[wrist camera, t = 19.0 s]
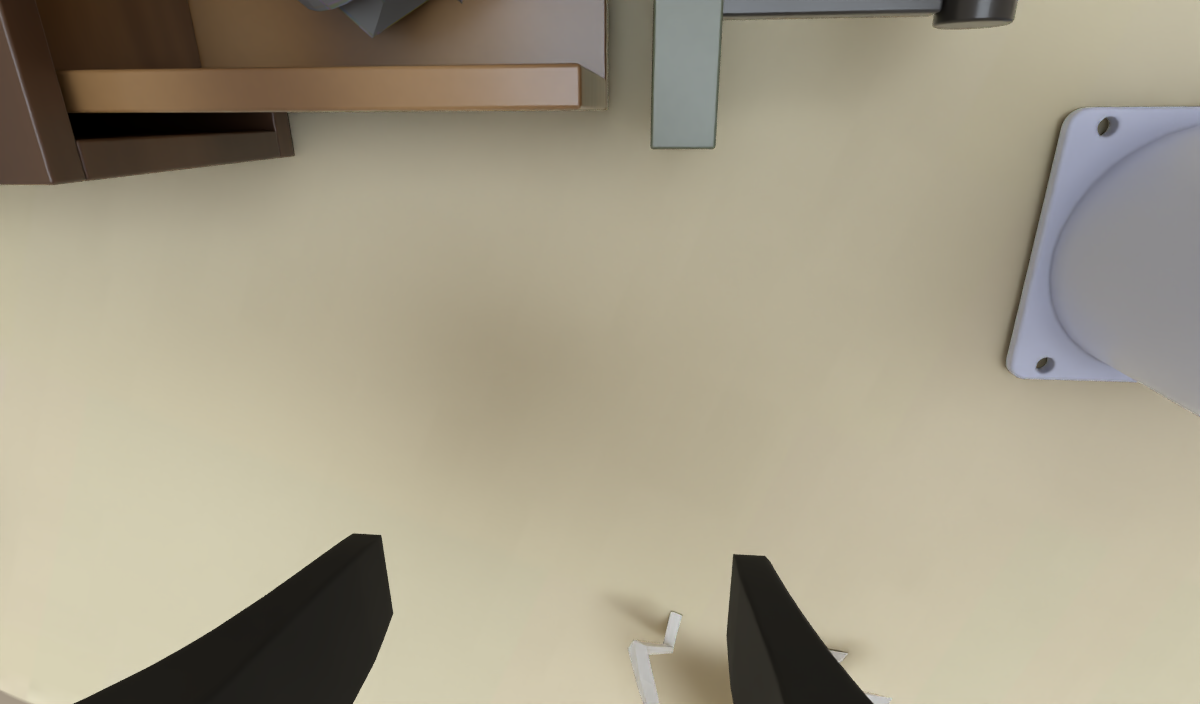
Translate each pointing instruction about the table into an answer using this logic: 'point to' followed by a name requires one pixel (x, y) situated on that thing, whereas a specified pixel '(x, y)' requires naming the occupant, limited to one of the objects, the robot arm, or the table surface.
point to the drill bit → (369, 11)
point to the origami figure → (643, 649)
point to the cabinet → (106, 123)
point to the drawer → (418, 55)
